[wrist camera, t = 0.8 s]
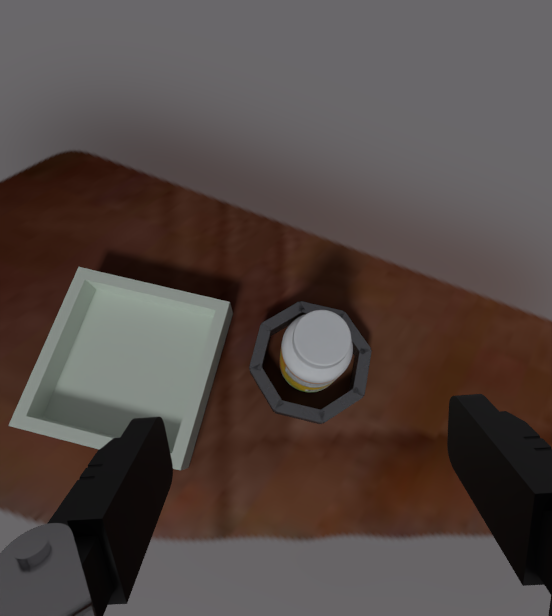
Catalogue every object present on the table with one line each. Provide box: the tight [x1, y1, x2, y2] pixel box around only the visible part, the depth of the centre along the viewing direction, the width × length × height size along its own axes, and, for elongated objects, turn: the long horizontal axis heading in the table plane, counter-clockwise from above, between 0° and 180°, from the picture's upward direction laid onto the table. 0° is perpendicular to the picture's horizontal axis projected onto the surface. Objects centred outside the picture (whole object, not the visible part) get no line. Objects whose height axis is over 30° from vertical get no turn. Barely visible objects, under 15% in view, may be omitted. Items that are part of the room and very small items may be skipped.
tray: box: [9, 267, 233, 470], centre depth 34 cm, size 14×14×3 cm
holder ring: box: [249, 301, 372, 424], centre depth 35 cm, size 10×10×2 cm
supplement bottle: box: [280, 310, 353, 392], centre depth 31 cm, size 5×5×10 cm
